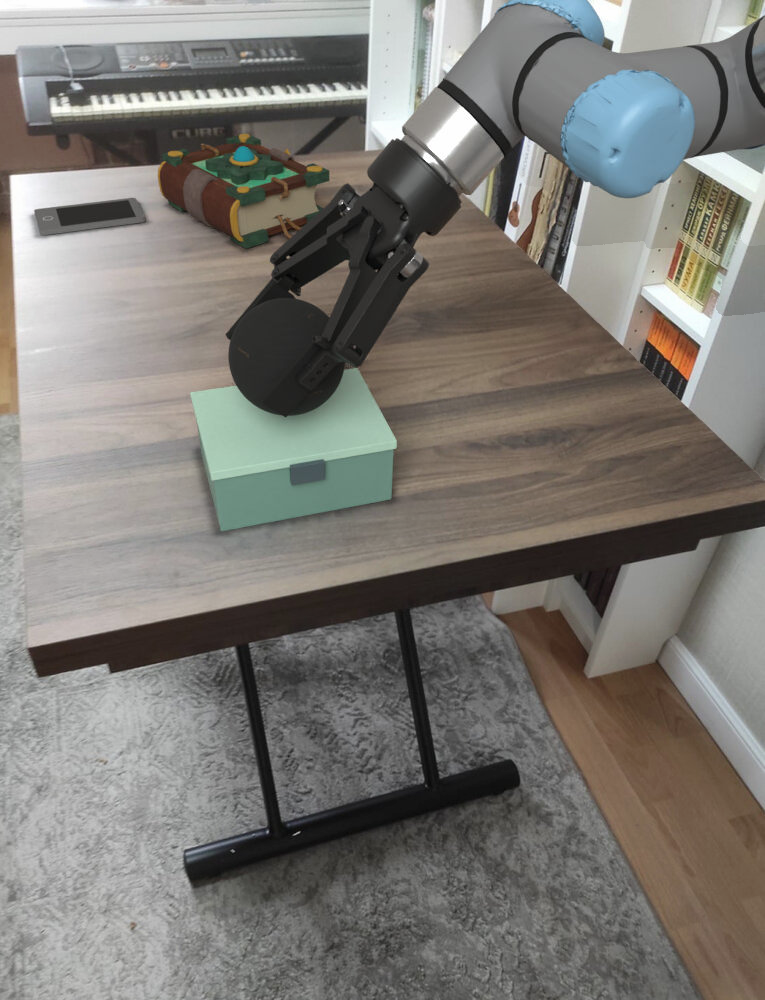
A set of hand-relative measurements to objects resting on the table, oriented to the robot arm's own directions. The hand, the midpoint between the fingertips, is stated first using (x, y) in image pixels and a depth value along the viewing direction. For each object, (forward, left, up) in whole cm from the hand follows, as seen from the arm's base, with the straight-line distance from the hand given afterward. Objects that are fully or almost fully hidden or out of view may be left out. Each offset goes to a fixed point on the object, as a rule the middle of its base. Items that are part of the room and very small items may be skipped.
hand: (254, 374), depth 72 cm
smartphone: (+62, -28, -12) cm, 69 cm away
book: (+43, -45, -12) cm, 64 cm away
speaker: (-2, -3, -4) cm, 5 cm away
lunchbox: (-2, -3, -12) cm, 12 cm away
